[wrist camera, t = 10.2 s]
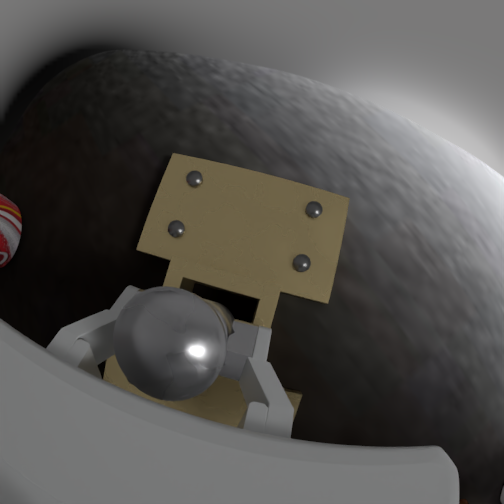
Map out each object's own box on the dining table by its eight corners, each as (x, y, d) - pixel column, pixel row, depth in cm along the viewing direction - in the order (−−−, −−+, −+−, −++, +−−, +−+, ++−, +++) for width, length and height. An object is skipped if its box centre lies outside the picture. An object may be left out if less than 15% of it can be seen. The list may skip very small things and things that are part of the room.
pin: (242, 307, 17) (239, 305, 8) (228, 358, 17) (208, 415, 7) (192, 293, 17) (129, 272, 8) (178, 342, 17) (103, 376, 7)
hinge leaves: (175, 159, 22) (163, 132, 18) (345, 203, 22) (363, 182, 18) (100, 422, 18) (77, 439, 14) (268, 476, 18) (272, 504, 14)
